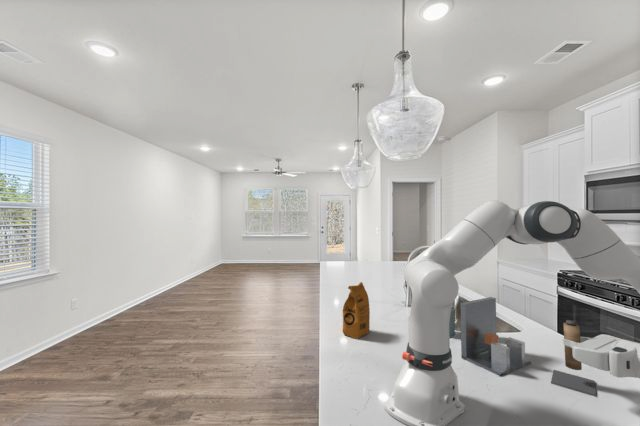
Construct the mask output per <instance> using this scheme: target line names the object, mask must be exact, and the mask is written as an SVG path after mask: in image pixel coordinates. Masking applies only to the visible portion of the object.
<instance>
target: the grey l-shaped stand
mask: <svg viewBox="0 0 640 426" xmlns="http://www.w3.org/2000/svg"><path fill="white" fill-rule="evenodd" d="M487 333H492V334H495V335H498V334H497V299H496V297H493V296H492V297H491V296H490V297H484V298H479V299H475V300H469V301H464V302H460V344H461V345H460V346H461V349H460V350H461V353H460V355H461V359H463V360H465V361H467V362H469V363H471V364H473V365H475V366H477V367H480V368H481V369H484V370H487V371H489V372H490V373H492V374H495V375H497V376H499V377H501V376H503V375H506V374H509V373H511V372H513V371H516V370H519V369H521V368H522V367H526V366H528V365H530V364H532V360H531V359H528V358H526V343H525V341H522V340H519V339H516V338H512V337H511V336H510V337H507V338H506V345H504V344H500V343H499V342H498V343H496V342H493V343H491V356H490V355H489V351H488V344H486V343H485V334H487Z"/></svg>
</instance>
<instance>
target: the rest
mask: <svg viewBox="0 0 640 426" xmlns="http://www.w3.org/2000/svg"><path fill="white" fill-rule="evenodd" d="M552 370H553V372H552V375H551V378H550V379H551V381H550V384H551V385H552V384H553V385H556V386H560V387H562V388H566V389H568V390H572V391H575V392H578V393H583V394H586V395H589V396H593V397H597V395H596V381H595V380H593V379H589V378H586V377H583V376H578V375H574V374H571V373H567V372H564V371H560V370H556V369H552Z"/></svg>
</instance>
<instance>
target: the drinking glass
mask: <svg viewBox="0 0 640 426" xmlns="http://www.w3.org/2000/svg"><path fill="white" fill-rule="evenodd" d="M455 328H456V307H455V306H454V305H453V306H452V310H451V315H450V323H449V338H452V337H451V336H453V337H455V334H456V333H455V332H456V331H455Z"/></svg>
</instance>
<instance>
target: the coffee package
mask: <svg viewBox="0 0 640 426" xmlns="http://www.w3.org/2000/svg"><path fill="white" fill-rule="evenodd" d="M347 289H348V290H349V294H348V297H347V298H346V300H345V301H344V304H343V306H342V307H343V309H342V333H343V335H344V336H347V337H349V338H353V339H356V340H359V339H360V338H361V337H363V336H366V335H368V333H369V332H370V319H371V318H370V299H369V295H368V292H367V290H366V288H365V285H364V284H363V282H362V281H360V282H359V283H358V284H357V285H349V286H348V287H347Z"/></svg>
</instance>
